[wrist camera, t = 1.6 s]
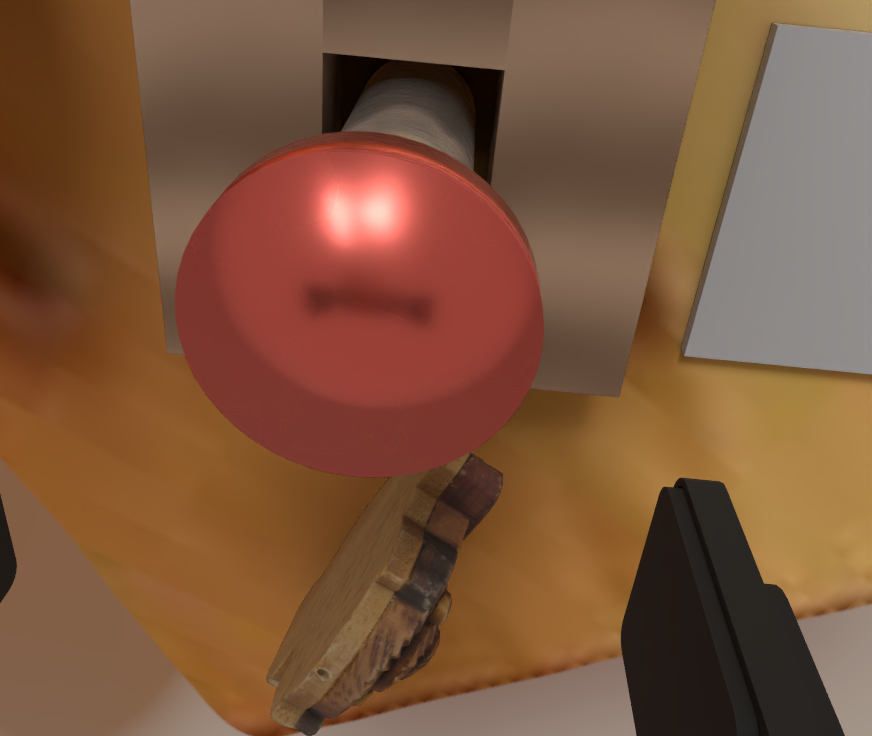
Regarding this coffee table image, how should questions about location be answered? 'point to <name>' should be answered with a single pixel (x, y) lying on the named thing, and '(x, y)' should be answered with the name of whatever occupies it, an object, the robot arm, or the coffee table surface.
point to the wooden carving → (380, 594)
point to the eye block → (510, 142)
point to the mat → (796, 214)
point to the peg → (366, 289)
